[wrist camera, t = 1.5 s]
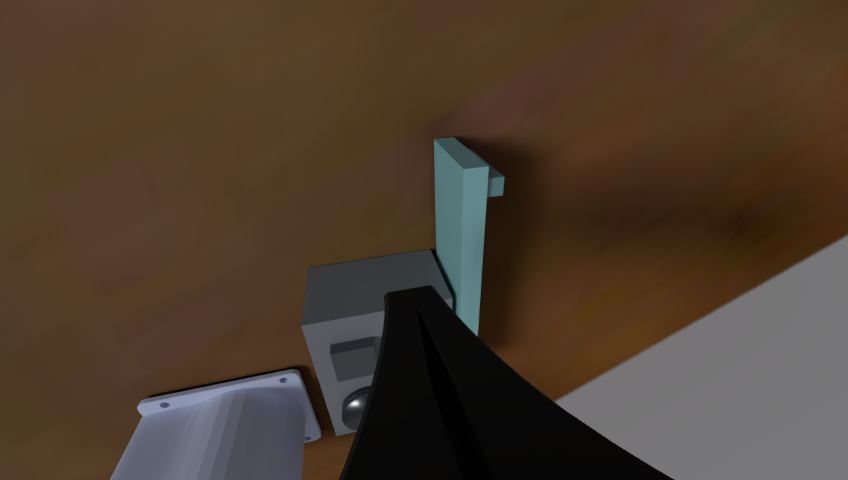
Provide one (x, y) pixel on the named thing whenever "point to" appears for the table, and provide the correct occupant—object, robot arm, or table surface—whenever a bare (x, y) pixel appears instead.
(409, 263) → the camera case
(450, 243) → the side door
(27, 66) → the table surface
